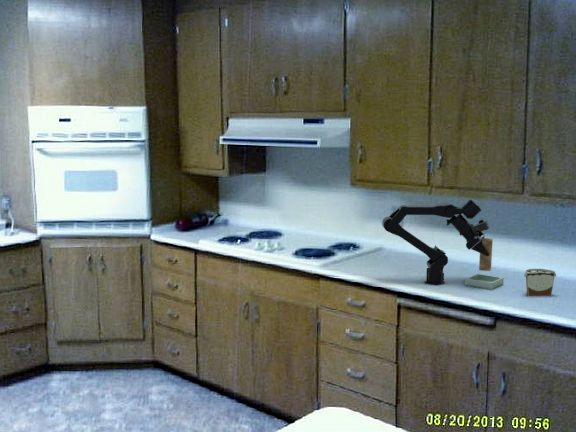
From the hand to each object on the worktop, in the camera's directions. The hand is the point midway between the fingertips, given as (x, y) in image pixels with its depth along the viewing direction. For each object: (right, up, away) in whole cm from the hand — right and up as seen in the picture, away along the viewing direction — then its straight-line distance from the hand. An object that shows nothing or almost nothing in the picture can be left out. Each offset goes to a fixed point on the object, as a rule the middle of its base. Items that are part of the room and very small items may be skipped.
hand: (489, 254), depth 271 cm
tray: (-1, -13, +3) cm, 13 cm away
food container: (+15, -16, -12) cm, 25 cm away
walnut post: (-1, -6, +2) cm, 7 cm away
